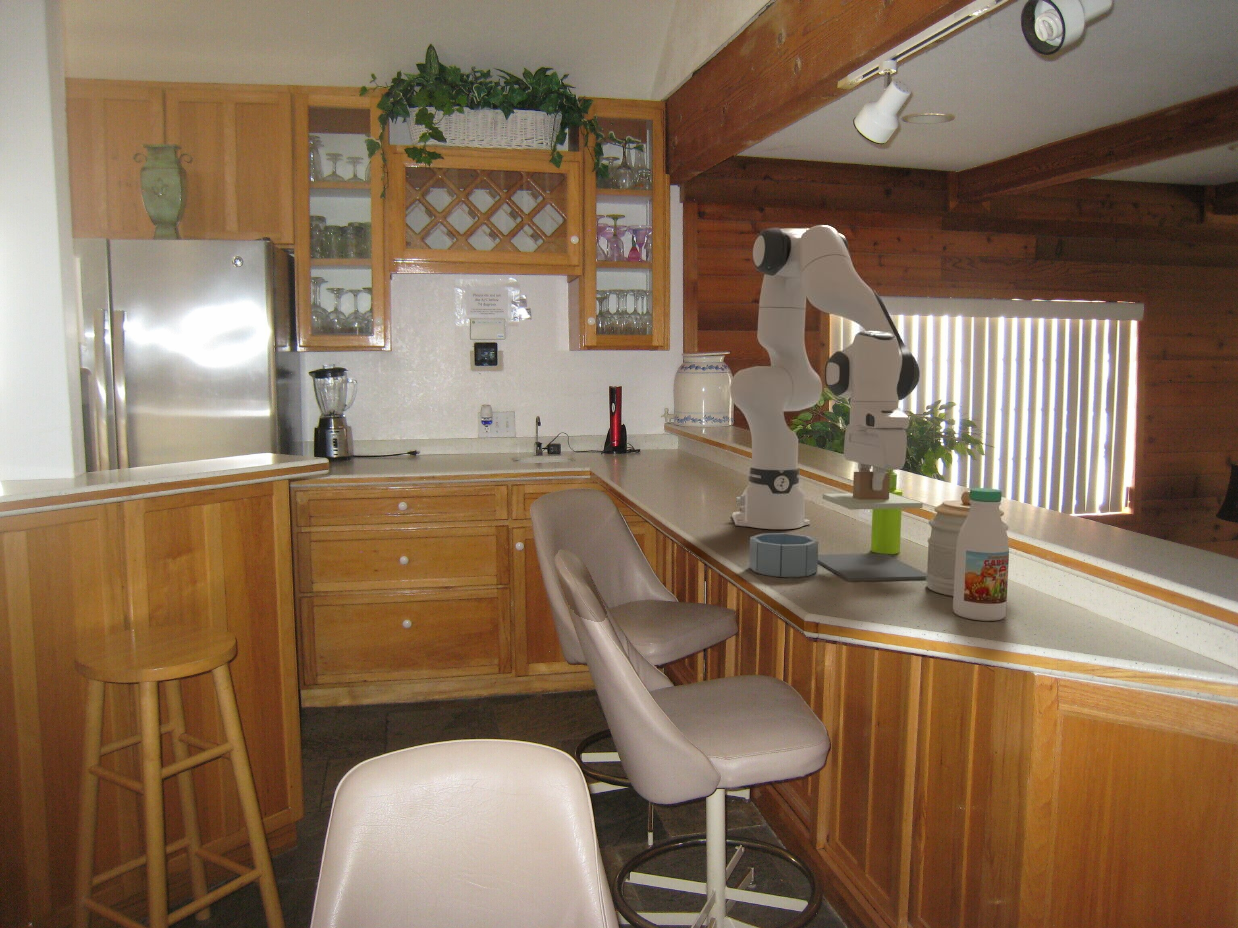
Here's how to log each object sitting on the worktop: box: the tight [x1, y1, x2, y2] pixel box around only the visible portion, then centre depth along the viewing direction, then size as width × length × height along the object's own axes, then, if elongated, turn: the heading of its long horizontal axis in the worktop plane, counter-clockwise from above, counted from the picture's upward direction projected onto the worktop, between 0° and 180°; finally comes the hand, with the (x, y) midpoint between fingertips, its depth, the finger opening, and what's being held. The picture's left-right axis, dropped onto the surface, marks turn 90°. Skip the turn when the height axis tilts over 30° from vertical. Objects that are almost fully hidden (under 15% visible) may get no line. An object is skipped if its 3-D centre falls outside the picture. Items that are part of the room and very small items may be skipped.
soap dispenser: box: [870, 470, 903, 555], centre depth 183 cm, size 6×7×20 cm
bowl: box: [748, 532, 819, 578], centre depth 166 cm, size 12×12×6 cm
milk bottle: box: [952, 487, 1010, 622], centre depth 135 cm, size 8×8×20 cm
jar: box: [925, 490, 1009, 597], centre depth 151 cm, size 13×13×18 cm
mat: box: [818, 553, 926, 582], centre depth 168 cm, size 20×16×1 cm
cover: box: [822, 471, 924, 511], centre depth 167 cm, size 14×14×6 cm
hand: (871, 488), depth 167 cm, fingers closed on cover, 3 cm apart
